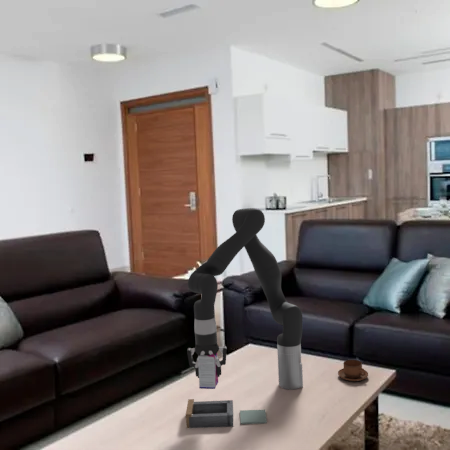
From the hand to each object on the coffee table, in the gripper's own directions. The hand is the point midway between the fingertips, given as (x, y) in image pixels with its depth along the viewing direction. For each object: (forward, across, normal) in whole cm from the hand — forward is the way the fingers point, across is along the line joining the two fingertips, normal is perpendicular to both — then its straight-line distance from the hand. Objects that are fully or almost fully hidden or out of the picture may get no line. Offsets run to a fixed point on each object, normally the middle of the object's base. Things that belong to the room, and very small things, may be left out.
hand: (208, 376), depth 183 cm
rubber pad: (+16, -15, 0) cm, 22 cm away
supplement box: (+3, 0, 0) cm, 3 cm away
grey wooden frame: (+16, 0, 0) cm, 16 cm away
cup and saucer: (+17, -57, -31) cm, 67 cm away
